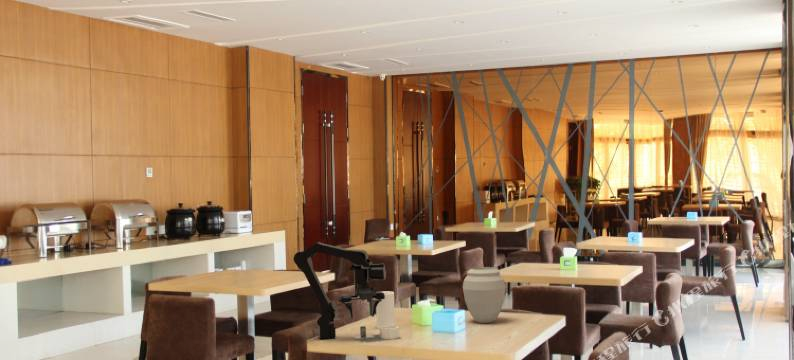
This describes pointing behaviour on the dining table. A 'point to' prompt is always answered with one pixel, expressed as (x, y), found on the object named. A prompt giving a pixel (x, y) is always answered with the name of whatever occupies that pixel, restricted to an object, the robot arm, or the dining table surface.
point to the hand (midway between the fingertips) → (362, 317)
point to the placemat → (374, 339)
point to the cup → (386, 310)
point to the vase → (484, 293)
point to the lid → (363, 334)
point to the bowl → (389, 332)
